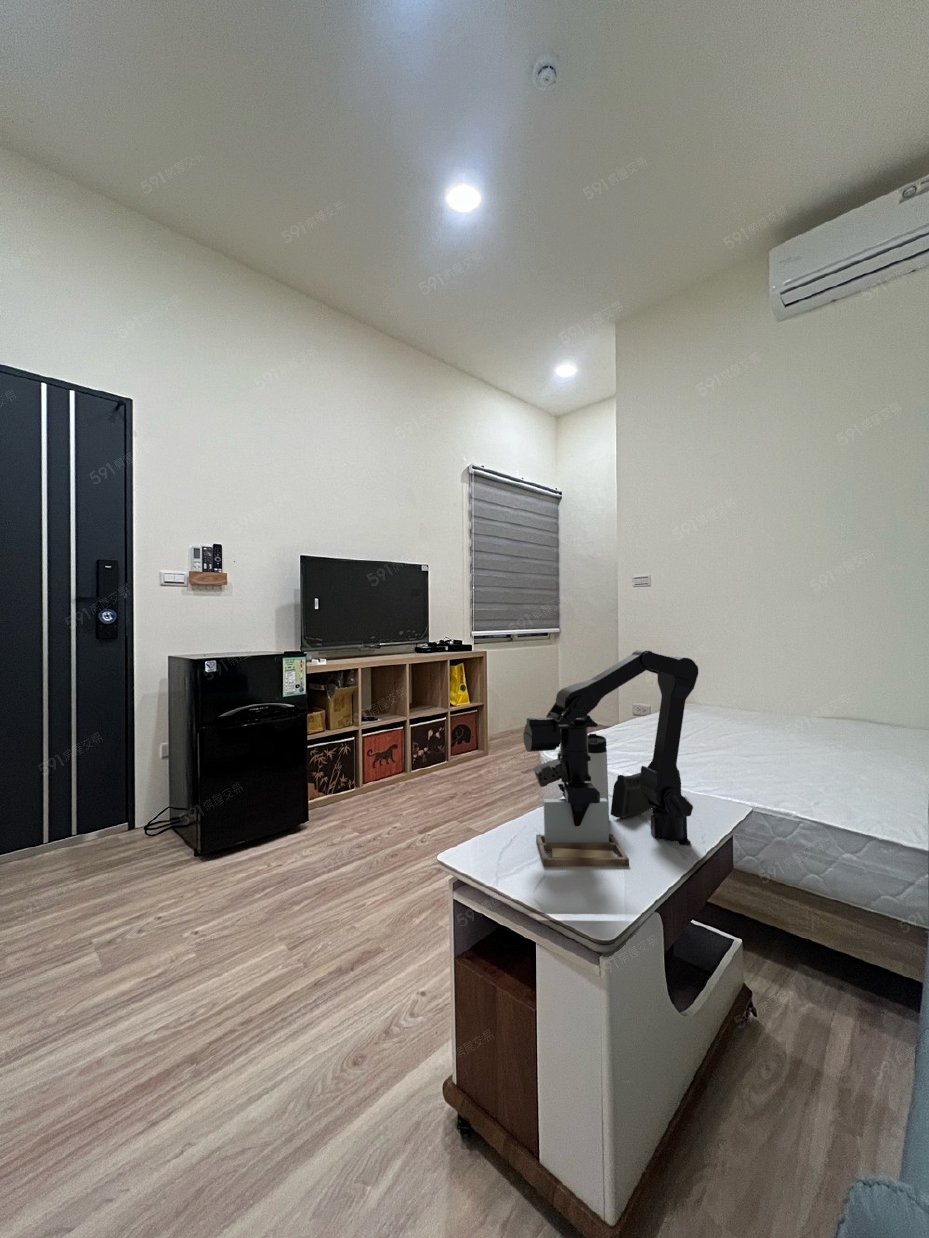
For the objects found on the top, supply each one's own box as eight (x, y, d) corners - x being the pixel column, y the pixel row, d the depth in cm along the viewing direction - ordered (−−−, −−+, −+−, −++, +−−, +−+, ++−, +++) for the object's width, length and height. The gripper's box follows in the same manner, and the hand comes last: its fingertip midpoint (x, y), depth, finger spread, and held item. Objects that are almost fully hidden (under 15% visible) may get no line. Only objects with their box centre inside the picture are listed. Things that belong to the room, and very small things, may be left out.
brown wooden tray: (612, 843, 109) (612, 833, 109) (629, 869, 97) (629, 859, 97) (536, 844, 109) (536, 834, 109) (543, 870, 97) (543, 859, 97)
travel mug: (608, 815, 125) (605, 733, 125) (609, 825, 118) (606, 739, 119) (582, 814, 126) (579, 733, 127) (582, 824, 120) (579, 738, 120)
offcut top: (613, 855, 102) (612, 850, 102) (615, 864, 98) (615, 859, 98) (552, 851, 104) (552, 847, 104) (552, 860, 100) (552, 856, 100)
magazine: (615, 787, 118) (672, 731, 138) (603, 784, 121) (661, 730, 140) (629, 852, 121) (683, 788, 141) (617, 848, 124) (671, 786, 143)
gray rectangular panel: (606, 841, 107) (605, 798, 107) (609, 845, 105) (607, 801, 105) (544, 842, 108) (543, 799, 108) (545, 846, 106) (544, 802, 106)
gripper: (530, 739, 116) (532, 808, 116) (541, 760, 98) (543, 842, 97) (579, 739, 116) (581, 808, 116) (599, 759, 97) (601, 842, 97)
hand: (576, 823), depth 106 cm, fingers closed on gray rectangular panel, 2 cm apart
